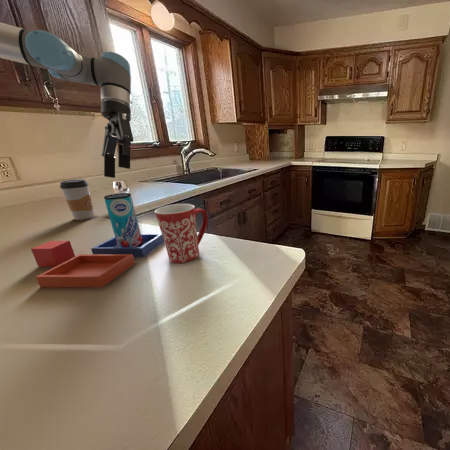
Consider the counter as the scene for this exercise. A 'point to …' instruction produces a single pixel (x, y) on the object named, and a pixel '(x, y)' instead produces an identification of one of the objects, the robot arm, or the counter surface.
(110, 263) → the red tray
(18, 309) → the counter surface
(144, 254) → the blue tray
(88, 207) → the coffee cup
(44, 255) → the red block
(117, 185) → the wineglass
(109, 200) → the beverage can
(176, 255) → the mug
